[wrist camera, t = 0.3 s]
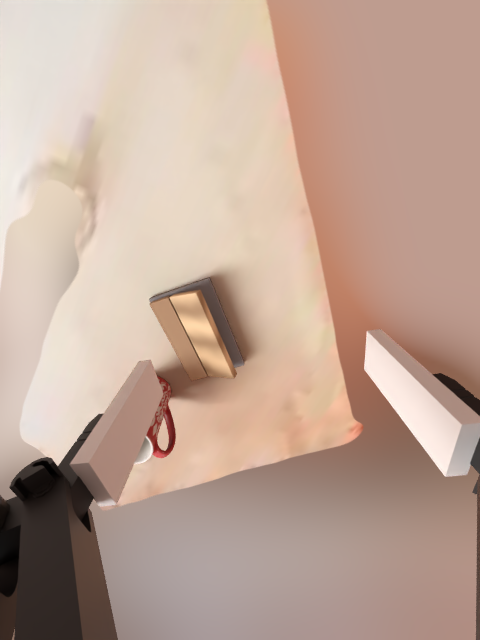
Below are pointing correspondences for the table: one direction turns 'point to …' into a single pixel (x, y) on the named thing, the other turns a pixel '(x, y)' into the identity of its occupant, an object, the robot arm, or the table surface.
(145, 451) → the mug
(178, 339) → the floor panel
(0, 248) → the table surface
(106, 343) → the table surface
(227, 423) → the table surface
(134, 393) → the robot arm
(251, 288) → the table surface
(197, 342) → the plank
